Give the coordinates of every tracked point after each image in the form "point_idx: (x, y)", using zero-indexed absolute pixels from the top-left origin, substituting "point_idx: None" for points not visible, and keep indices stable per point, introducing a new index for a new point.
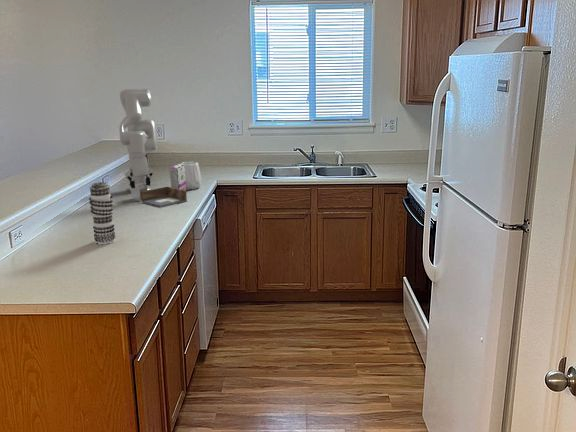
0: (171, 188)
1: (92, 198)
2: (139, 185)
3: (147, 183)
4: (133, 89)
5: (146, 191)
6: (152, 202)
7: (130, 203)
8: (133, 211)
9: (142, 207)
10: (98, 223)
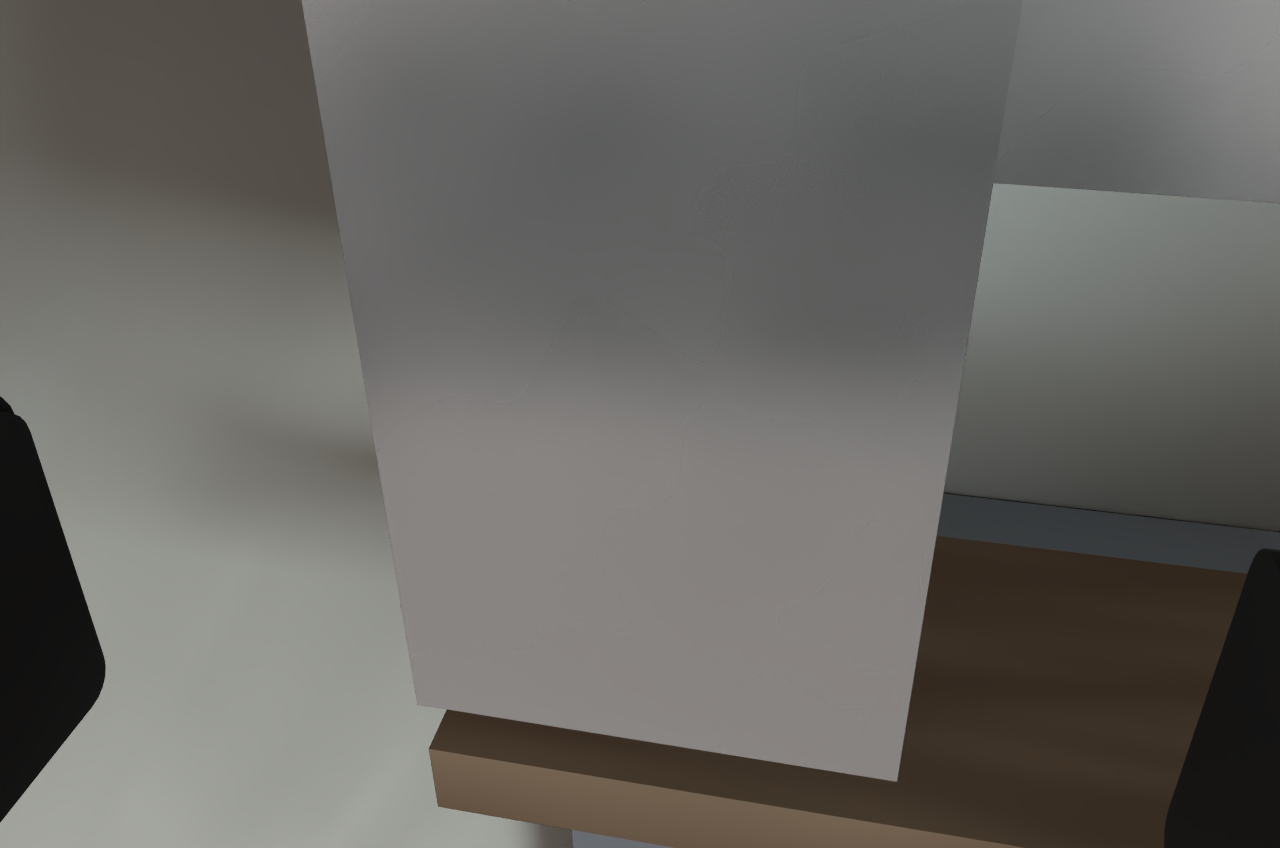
0: None
1: None
2: (728, 325)
3: (1240, 804)
4: None
5: (653, 834)
6: (640, 845)
7: (216, 217)
8: (28, 842)
9: (305, 792)
10: None
